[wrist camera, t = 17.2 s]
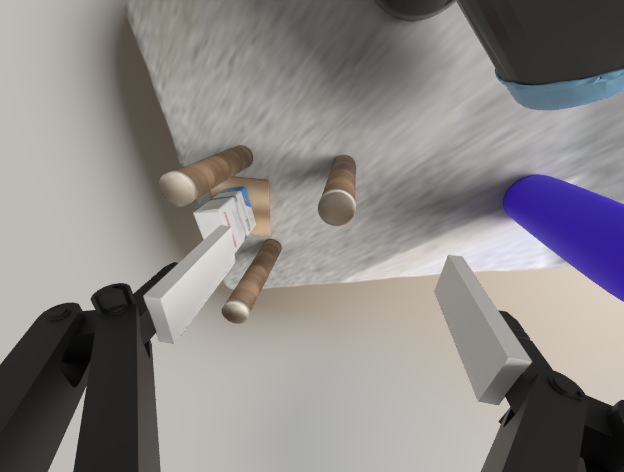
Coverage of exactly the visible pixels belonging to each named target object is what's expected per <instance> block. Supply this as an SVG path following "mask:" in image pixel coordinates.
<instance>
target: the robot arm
mask: <svg viewBox="0 0 624 472" xmlns="http://www.w3.org/2000/svg"><path fill="white" fill-rule="evenodd" d="M456 1H457V3H458V5H459V7H460V8H461V10H462V12H463V13H464V15H465V17H466V19H467V20H468V22H469V24H470V25H471V27H472V29H473V30H474V32H475V34H476V36H477V37H478V39H479V41H480V42H481V44H482V46H483V48H484V49H485V51H486V53H487V54H488V56H489V58H490V60H491V61H492V63H493V65H494V66H495V74H496V77H497V79H498V80H499V81H501V82H502V84H504V85H506V87H507V88H508V90H509V91H510V93H511V94H512V96H513V97H514V99H515V100H516V101H517V102H518V103H520V104H521V105H523V106H524V107H527V108H529V109H535V110H558V109H565V108H571V107H576V106H580V105H584V104H588V103H592V102H595V101H599V100H602V99H605V98H608V97H611V96H614V95H617V94H620V93H622V92H624V0H376V2H377V3H378V4H379V5H380V7H381V8H382V9H383V10H385V11H386V12H387V13H389V14H390V15H392V16H394V17H396V18H399V19H403V20H422V19H426V18H429V17H432V16H434V15H437V14H439V13H440V12H442V11H444V10H445V9H447V8H448V7H450V6H451V5H452V4H453V3H455V2H456ZM234 264H235V253H234V243H233V234H232V226H224V225H220V226H219V227H218V228H216V229H215V230H214V231H213V232H212V233H211V234H210V235H209V236H208V237H207V238H206V239H205V240H203V241H202V242H201V243H200V244H199V245H198V246H197V247H196V248H195V249H194V250H193V251H192V252H190V253H189V254H188V255H187V256H186V257H185V258H184V259H183V260H182V261H181V262H180V263H176V262H173V263H172V264H169V265H167V266H165V267H164V268H163V269H161V271H159V272H158V273H157V275H155V276H153V277H152V278H151V280H149V281H148V282H147V283H145V284H144V285H143V286H142V287H141V288H140V289H138V290H137V291H136V292H135V293H134V294H133V293H132V291H131V288H130V286H129V285H127V284H124V283H118V284H112V285H109V286H106V287H103V288H102V289H100V290H98V291H97V292H96V293H94V294H93V296H92V297H91V301H92V304H93V305H94V307H95V309H96V310H91V311H82V309H81V307H80V306H79V304H77V303H64V304H60V305H57V306H54V307H52V308H50V309H48V310H47V311H45V312H43V313H42V314H41V315H40V316H39V317H38V318H37V319H36V321H35V322H34V323H33V325H32V326H31V327H30V328H29V330H28V331H27V332H26V333H25V335H24V336H23V337H22V338H21V339H20V341H19V342H18V343H17V344H16V346H15V347H14V348H13V349H12V351H11V352H10V353H9V354H8V356H7V357H6V358H5V359H4V361H3V362H2V363H1V365H0V472H48V470H49V468H50V465H51V463H52V460H53V459H54V456H55V454H56V452H57V450H58V448H59V445H60V443H61V441H62V439H63V437H64V434H65V432H66V430H67V428H68V425H69V423H70V421H71V419H72V417H73V414H74V412H75V410H76V408H77V406H78V403H79V401H80V399H81V396H82V394H83V392H84V390H85V388H86V386H87V388H86V394H85V400H84V407H83V413H82V420H81V426H80V433H79V439H78V445H77V452H76V459H75V465H74V471H73V472H160V457H159V443H158V429H157V414H156V399H155V385H154V370H153V357H152V356H153V355H152V344H151V341H150V339H151V338H152V337H153V335H154V334H155V333H156V334H157V337H158V340H159V341H160V342H166V343H171V344H175V343H176V341H177V340H178V339H179V337H180V336H181V335H182V333H183V332H184V331H185V329H186V328H187V327H188V325H189V324H190V323H191V321H192V320H193V319H194V317H195V316H196V315H197V313H198V312H199V311H200V309H201V308H202V307H203V305H204V304H205V303H206V301H207V300H208V299H209V297H210V296H211V294H212V293H213V292H214V290H215V289H216V288H217V286H218V285H219V284H220V282H221V281H222V280H223V278H224V277H225V276H226V274H227V273H228V272H229V270H230V269H231V268H232V266H233V265H234ZM434 292H435V295H436V297H437V300H438V302H439V305H440V307H441V310H442V312H443V315H444V317H445V320H446V322H447V325H448V327H449V330H450V332H451V335H452V337H453V340H454V342H455V345H456V347H457V350H458V352H459V355H460V357H461V360H462V362H463V364H464V367H465V370H466V372H467V375H468V377H469V380H470V382H471V385H472V387H473V390H474V392H475V395H476V397H477V400H478V401H479V402H484V403H489V404H494V405H499V404H500V402H501V401H502V400H503V399H504V397H506V399H507V401H508V403H509V405H510V408H509V410H508V411H507V412H506V413H505V414H504V416H503V417H502V418H501V419H500V420H499V423H501V426H500V428H499V431H498V433H497V436H496V438H495V440H494V442H493V445H492V447H491V449H490V452H489V454H488V456H487V459H486V461H485V463H484V466H483V468H482V470H481V472H624V400H621V401H619V402H618V403H616V404H615V405H614V406H611V405H609V404H606V403H604V402H601V401H599V400H596V399H594V398H592V397H589V396H587V395H585V393H584V392H583V391H582V389H581V388H580V387H579V386H578V385H577V384H576V383H575V382H573V381H572V380H570V379H569V378H567V377H566V376H565V375H563V374H561V373H558V372H556V371H553V370H552V368H551V367H550V365H549V364H548V363H547V361H546V360H545V358H544V357H543V356H542V354H541V353H540V352H539V350H538V349H537V347H536V346H535V345H534V343H533V342H532V341H530V338H529V336H528V335H527V333H525V332H524V329H523V328H522V327H521V325H520V324H519V322H518V321H517V320H516V319H515V318H513V317H512V316H511V315H510V314H509V313H508V312H505V311H499V310H497V308H496V307H495V305H494V304H493V302H492V301H491V299H490V298H489V296H488V295H487V293H486V292H485V290H484V289H483V287H482V286H481V284H480V283H479V281H478V280H477V278H476V277H475V275H474V274H473V272H472V271H471V269H470V268H469V266H468V265H467V263H466V261H465V260H464V258H463V257H461V256H453V255H448V257H447V260H446V262H445V265H444V267H443V270H442V273H441V275H440V278H439V280H438V283H437V286H436V288H435V291H434Z"/></svg>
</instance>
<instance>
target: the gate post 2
mask: <svg viewBox="0 0 624 472" xmlns="http://www.w3.org/2000/svg"><path fill="white" fill-rule="evenodd" d="M355 174H356V165H355V161H354V160H353V159H352V158H351V157H350V156H347V155H342V156H339V157H338V158H337V159H336V160H335V161H334V164H333V166H332V169H331V172H330V175H329V178H328V180H327V183H326V186H325V189H324V192H323V194H322V197H321V199H320V201H319V204H318V212H319V215H320V217H321V219H322V220H323V221H324V222H326V223H327V224H329V225H332V226H342V225H345V224H347V223H348V222H349V221H351V219H352V218H353V216H354V214H355Z"/></svg>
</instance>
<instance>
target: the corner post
mask: <svg viewBox="0 0 624 472" xmlns="http://www.w3.org/2000/svg"><path fill="white" fill-rule="evenodd" d="M281 249H282V248H281V244H280V243H279V242H278V241H276V240H274V239H269V240H267V241H266V242H265V243H264V245H263V246H262V248H261V249H260V251H259V252H258V254H257V255H256V257H255V258H254V260H253V262H252V263H251V265H250V266H249V268H248V269H247V271H246V272H245V274H244V276H243V277H242V279H241V280H240V282H239V283H238V285H237V286H236V288H235V290H234V291H233V293H232V294H231V296H230V297H229V299H228V300H227V302H226V303H225V304H224V306H223V308H222V314H223V316H224V317H225V318H226V319H227V320H228V321H230V322H232V323H236V324H241V323H244V322H245V321H246V320H247V318H248V316H249V314H250V312H251V310H252V308H253V305H254V304H255V302H256V299H257V298H258V296H259V293H260V292H261V290H262V288H263V286H264V284H265V282H266V280H267V278H268V276H269V274H270V272H271V270H272V268H273V266H274V264H275V262H276V260H277V258H278V256H279V254H280V252H281Z"/></svg>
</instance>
